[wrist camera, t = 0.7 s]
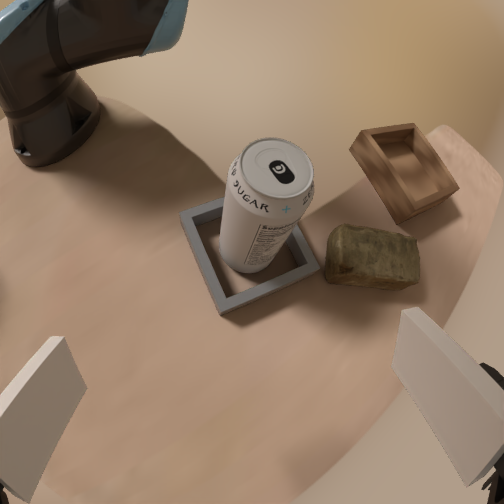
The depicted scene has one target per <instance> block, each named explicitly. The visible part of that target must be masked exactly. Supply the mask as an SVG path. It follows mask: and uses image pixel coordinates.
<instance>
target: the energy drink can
mask: <svg viewBox="0 0 504 504" xmlns="http://www.w3.org/2000/svg"><path fill="white" fill-rule="evenodd" d="M313 177H314V169H313V165H312V163H311V161H310V159H309V157H308V156H307V154H306V153H305V152H304V151H303V150H302V149H301V148H299V147H298V146H297V145H295V144H293V143H291V142H289V141H287V140H284V139H279V138H262V139H258V140H255V141H253V142H252V143H250V144H249V145H248V146H246V147H245V149H244V150H243V151H242V153H241V154H240V155H239V156H237V157H236V158H235V160H234V161H233V162H232V163H231V165H230V168H229V171H228V176H227V183H226V191H225V198H224V206H223V214H222V222H221V230H220V238H219V251H220V254H221V256H222V258H223V260H224V261H225V262H226V264H227V265H228V266H230V267H231V268H232V269H234V270H236V271H239V272H242V273H255V272H259V271H261V270H263V269H264V268H266V267H267V266H268V265H269V264H270V263H271V262H272V260H273V259H274V257H275V256H276V254H277V253H278V251H279V250H280V248H281V247H282V245H283V244H284V242H285V241H286V239H287V238H288V236H289V235H290V233H291V232H292V230H293V229H294V227H295V226H296V224H297V223H298V221H299V220H300V218H301V217H302V215H303V214H304V212H305V211H306V209H307V208H308V206H309V204H310V203H311V201H312V199H313V195H314V182H313Z"/></svg>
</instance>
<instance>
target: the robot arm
mask: <svg viewBox="0 0 504 504" xmlns="http://www.w3.org/2000/svg"><path fill="white" fill-rule="evenodd" d="M187 7H188V0H16V1H14V2H13V3H11V4H10V5H8V6H7V7H6V8H4V9H3V10H2V11H1V12H0V106H1V108H2V109H3V111H4V113H5V115H6V117H7V119H8V125H9V130H10V135H11V140H12V145H13V149H14V151H15V153H16V154H17V156H18V157H19V159H20V160H21V161H22V162H23V163H24V164H26V165H28V166H32V167H40V166H45V165H49V164H52V163H54V162H57V161H59V160H61V159H63V158H64V157H66V156H68V155H69V154H71V153H72V152H73V151H75V150H76V149H77V148H78V147H80V146H81V145H82V144H83V143H84V142H85V141H86V140H87V139H88V137H89V136H90V135H91V134H92V132H93V131H94V129H95V127H96V126H97V123H98V121H99V118H100V106H99V103H98V100H97V97H96V95H95V93H94V92H93V91H92V90H91V88H90V87H89V86H88V85H87V84H86V83H85V82H84V80H83V79H82V78H81V77H80V76H79V75H78V73H77V72H76V70H77V69H80V68H84V67H87V66H92V65H96V64H99V63H104V62H108V61H112V60H117V59H122V58H127V57H133V56H139V57H142V56H144V55H146V54H149V53H154V52H160V51H165V50H168V49H171V48H172V47H173V46H174V45H175V44H176V43H177V42H178V41H179V39H180V36H181V34H182V30H183V26H184V21H185V17H186V12H187ZM391 367H392V369H393V370H394V372H395V373H396V375H397V376H398V378H399V379H400V381H401V382H402V384H403V385H404V387H405V388H406V390H407V391H408V393H409V394H410V396H411V397H412V399H413V401H414V402H415V404H416V405H417V407H418V408H419V410H420V411H421V413H422V414H423V416H424V418H425V419H426V421H427V422H428V424H429V425H430V427H431V429H432V430H433V432H434V434H435V435H436V437H437V438H438V440H439V441H440V443H441V445H442V447H443V448H444V450H445V451H446V453H447V455H448V457H449V458H450V460H451V462H452V463H453V465H454V467H455V468H456V470H457V472H458V474H459V476H460V477H461V479H462V481H463V482H464V484H465V486H466V487H468V486H470V485H471V484H473V483H474V482H476V481H478V480H479V479H481V478H482V477H484V476H485V475H486V474H487V473H488V471H489V470H490V469H491V468H492V467H493V466H494V467H495V469H496V471H495V472H494V473H493V475H492V476H491V477H490V478H489V479H488V480H487V481H486V482H485V483H484V485H483V487H482V490H484V489H485V488H486V487H487V486H488V485H489V484H490V483H491V482H492V483H491V486H490V487H489V489H488V490H490V493H489V498H488V503H487V504H504V377H503V376H502V375H500V374H499V372H498V371H497V370H495V369H494V368H492V367H490V366H489V365H487V364H485V363H481V364H478V363H477V362H476V361H475V360H474V359H473V358H472V357H471V356H470V355H469V354H468V353H467V352H466V351H465V350H464V349H463V348H462V347H461V346H460V345H459V344H458V343H456V342H455V341H454V340H453V339H452V338H451V337H450V336H449V335H448V334H447V333H446V332H445V331H444V330H443V329H442V328H441V327H440V326H438V325H437V324H436V323H435V322H434V321H433V320H432V319H431V318H430V317H429V316H428V315H426V314H425V313H424V312H423V311H422V310H421V309H420V308H419V307H414V308H409V309H404V310H402V311H401V317H400V324H399V330H398V335H397V341H396V346H395V351H394V356H393V360H392V365H391ZM86 390H87V386H86V384H85V382H84V380H83V378H82V376H81V374H80V372H79V370H78V368H77V365H76V363H75V361H74V359H73V356H72V354H71V352H70V349H69V347H68V345H67V342H66V340H65V337H60V336H51V337H50V338H49V339H48V340H47V341H46V342H45V343H44V344H43V345H42V347H41V348H40V349H39V350H38V351H37V352H36V353H35V354H34V356H33V357H32V358H31V359H30V360H29V361H28V362H27V363H26V365H25V366H24V367H23V368H22V369H21V370H20V372H19V373H18V374H17V375H16V376H15V378H14V379H13V380H12V381H11V382H10V384H9V385H8V386H7V387H6V389H5V390H4V391H3V392H2V393H1V395H0V504H9V502H8V498H7V495H6V493H5V492H4V491H3V488H4V487H5V488H6V489H7V490H9V491H10V492H11V493H12V494H13V495H14V496H16V497H17V498H20V499H21V500H23V501H25V502H27V503H30V501H31V498H32V496H33V494H34V491H35V489H36V487H37V485H38V483H39V480H40V478H41V476H42V474H43V472H44V470H45V468H46V465H47V463H48V461H49V459H50V457H51V455H52V453H53V451H54V449H55V447H56V445H57V443H58V441H59V439H60V437H61V436H62V434H63V432H64V430H65V428H66V426H67V424H68V422H69V420H70V419H71V417H72V415H73V413H74V411H75V409H76V408H77V406H78V404H79V402H80V400H81V399H82V397H83V395H84V393H85V392H86Z"/></svg>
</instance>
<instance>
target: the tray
mask: <svg viewBox="0 0 504 504" xmlns="http://www.w3.org/2000/svg"><path fill="white" fill-rule="evenodd" d="M224 198H225V197H222V198H219V199H216V200H213V201H210V202H207V203H204V204H201V205H199V206H196V207H193V208H190V209H187V210H184V211H182V212H179V215H180V221H181V225H182V227H183V230H184V232H185V235H186V237H187V240H188V242H189V245H190V247H191V250H192V252H193V254H194V257H195V259H196V262H197V264H198V267H199V269H200V271H201V274H202V276H203V278H204V281H205V283H206V285H207V288H208V290H209V292H210V295H211V297H212V299H213V302H214V304H215V306H216V308H217V311H218V313H219V315H223V314H225V313H228V312H230V311H232V310H235V309H237V308H239V307H242V306H244V305H246V304H249V303H251V302H253V301H255V300H258V299H260V298H262V297H264V296H267V295H269V294H271V293H273V292H276V291H278V290H280V289H282V288H285V287H287V286H289V285H291V284H293V283H296V282H298V281H300V280H302V279H304V278H306V277H309V276H311V275H313V274H314V273H315V272H316V271H318V270H319V269H320V266H319V265H318V263H317V261H316V259H315V257H314V255H313V253H312V251H311V249H310V247H309V245H308V243H307V242H306V240H305V238H304V236H303V234H302V232H301V230H300V229H299V227H298V225H297V224H296V226H295V227H294V229H293V230H292V232H291V233H290V235H289V236H288V238H287V239H286V243H287V244H288V246H289V248H290V250H291V252H292V254H293V256H294V258H295V260H296V262H297V264H298V266H299V267H298V268H296V269H294V270H292V271H289V272H287V273H285V274H282V275H280V276H278V277H276V278H273V279H271V280H269V281H266V282H264V283H262V284H259V285H257V286H255V287H252V288H250V289H248V290H245V291H243V292H240V293H238V294H236V295H233V296H231V297H229V298H226V296H225V294H224V292H223V290H222V287H221V285H220V283H219V281H218V278H217V276H216V274H215V272H214V269H213V267H212V265H211V262H210V260H209V258H208V255H207V253H206V251H205V248H204V246H203V244H202V241H201V239H200V237H199V234H198V232H197V229H196V227H195V226H197V225H200V224H203V223H206V222H209V221H211V220H214V219H217V218H220V217H222V214H223V206H224Z"/></svg>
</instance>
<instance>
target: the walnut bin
mask: <svg viewBox="0 0 504 504" xmlns="http://www.w3.org/2000/svg"><path fill="white" fill-rule="evenodd" d="M349 151H350V152H351V153H352V155H353V156H354V158H355V159H356V161H357V162H358V164H359V165H360V167H361V168H362V170H363V171H364V173H365V174H366V176H367V177H368V179H369V180H370V182H371V183H372V185H373V186H374V188H375V190H376V191H377V193H378V194H379V196H380V198H381V199H382V201H383V203H384V204H385V206H386V208H387V209H388V211H389V213H390V214H391V216H392V218H393V219H394V221H395V223H396V225H398V224H400V223H402V222H404V221H406V220H408V219H410V218H412V217H414V216H416V215H418V214H420V213H422V212H424V211H426V210H428V209H430V208H432V207H434V206H436V205H438V204H439V203H441V202H443V201H445V200H446V199H447V198H448V197H450V196H451V195H452V194H453V193H455V192H456V191H457V190H458V189H460V188H459V186H458V185H457V183H456V182H455V180H454V178H453V177H452V175H451V174H450V172H449V171H448V169H447V168H446V166H445V165H444V163H443V162H442V160H441V159H440V157H439V156H438V154H437V153H436V151H435V150H434V149H433V147H432V146H431V145H430V143H429V142H428V140H427V139H426V138H425V136H424V135H423V134H422V133H421V131H420V130H419V129H418V127H416V125H415V124H414V123H410V124H401V125H394V126H387V127H379V128H373V129H367V130H361V132H360V133H359V135H358V136H357V138H356V139H355V141H354V142H353V144H352V146H351V147H350V149H349Z"/></svg>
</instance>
